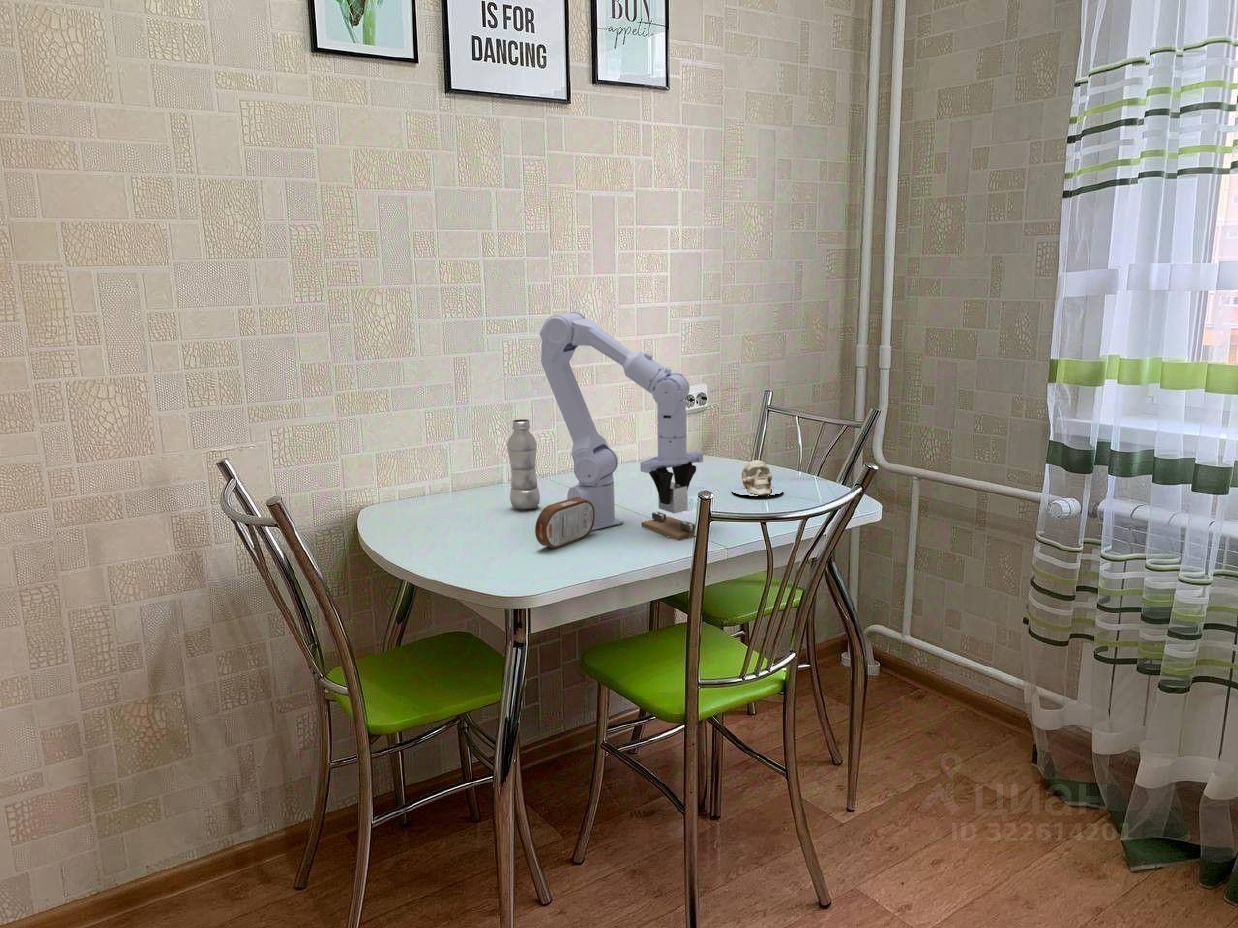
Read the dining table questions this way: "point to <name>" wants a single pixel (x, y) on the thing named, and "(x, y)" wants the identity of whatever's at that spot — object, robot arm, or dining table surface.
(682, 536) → the board
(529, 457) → the plastic bottle
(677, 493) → the grey toy brick
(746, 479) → the skull
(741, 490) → the dining table surface
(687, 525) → the chain ends
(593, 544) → the dining table surface
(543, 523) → the tin
